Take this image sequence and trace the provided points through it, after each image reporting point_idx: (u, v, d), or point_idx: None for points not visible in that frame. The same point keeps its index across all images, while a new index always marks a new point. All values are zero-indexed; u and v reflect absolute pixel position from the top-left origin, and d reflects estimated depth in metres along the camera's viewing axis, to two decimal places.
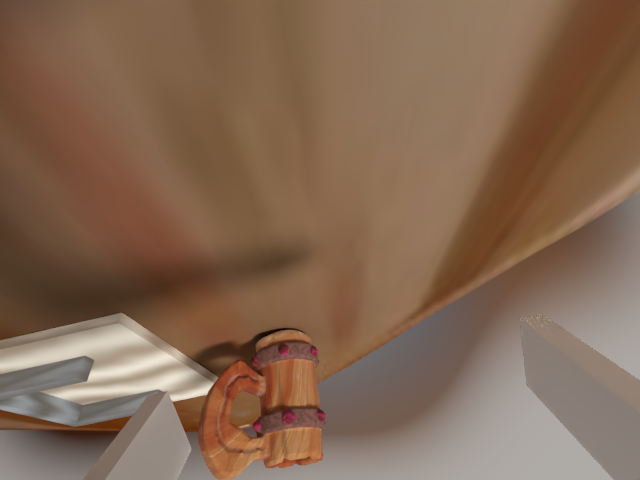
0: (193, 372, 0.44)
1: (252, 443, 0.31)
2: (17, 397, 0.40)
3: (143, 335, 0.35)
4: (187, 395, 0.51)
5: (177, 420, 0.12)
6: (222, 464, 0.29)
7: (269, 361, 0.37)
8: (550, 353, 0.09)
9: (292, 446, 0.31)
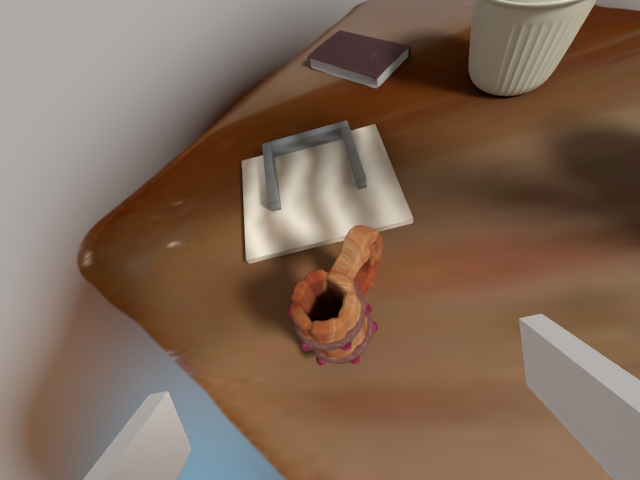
0: (308, 242, 0.47)
1: (358, 267, 0.31)
2: (326, 137, 0.56)
3: (386, 226, 0.46)
4: (253, 226, 0.51)
5: (177, 420, 0.12)
6: (372, 237, 0.31)
7: None
8: (550, 353, 0.09)
9: (356, 303, 0.29)
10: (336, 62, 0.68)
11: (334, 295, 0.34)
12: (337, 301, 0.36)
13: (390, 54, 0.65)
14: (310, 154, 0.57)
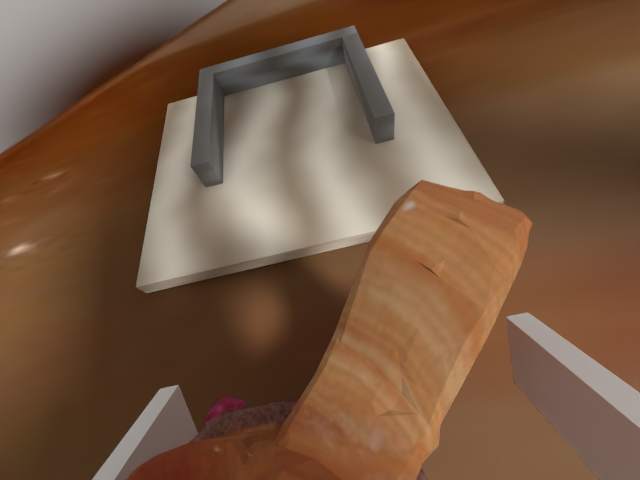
0: (269, 251, 0.22)
1: None
2: (315, 57, 0.31)
3: None
4: (164, 216, 0.25)
5: (187, 413, 0.12)
6: None
7: (423, 476, 0.12)
8: (534, 350, 0.10)
9: None
10: None
11: None
12: None
13: None
14: (286, 89, 0.31)
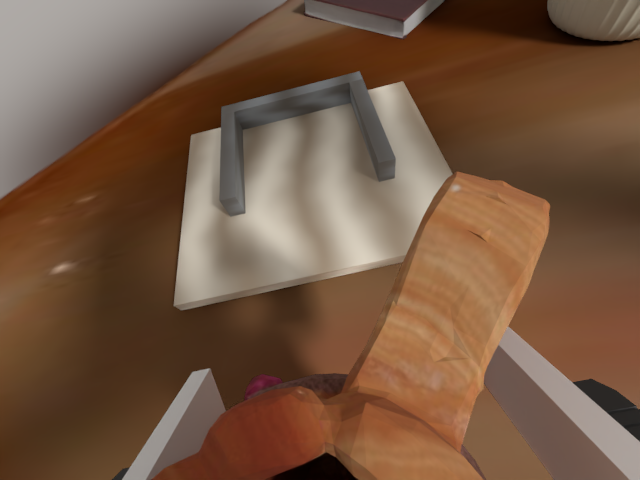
0: (289, 276, 0.26)
1: None
2: (325, 98, 0.35)
3: None
4: (194, 242, 0.29)
5: (218, 395, 0.13)
6: None
7: None
8: None
9: None
10: (342, 2, 0.46)
11: None
12: None
13: None
14: (299, 125, 0.35)
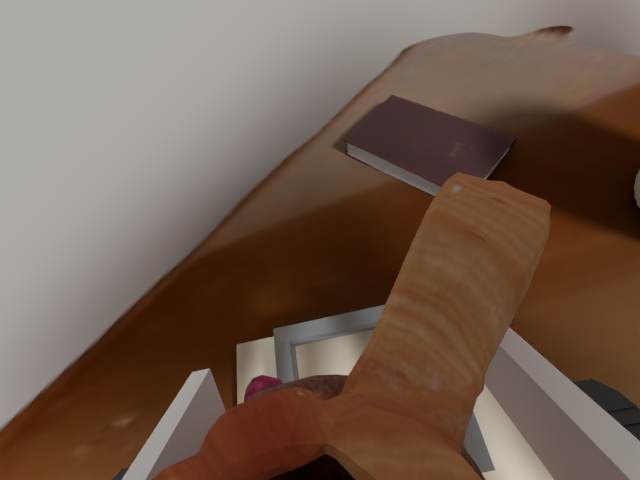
0: None
1: None
2: None
3: None
4: None
5: (218, 396, 0.13)
6: None
7: None
8: None
9: None
10: (392, 157, 0.42)
11: None
12: None
13: (485, 151, 0.40)
14: (360, 350, 0.31)
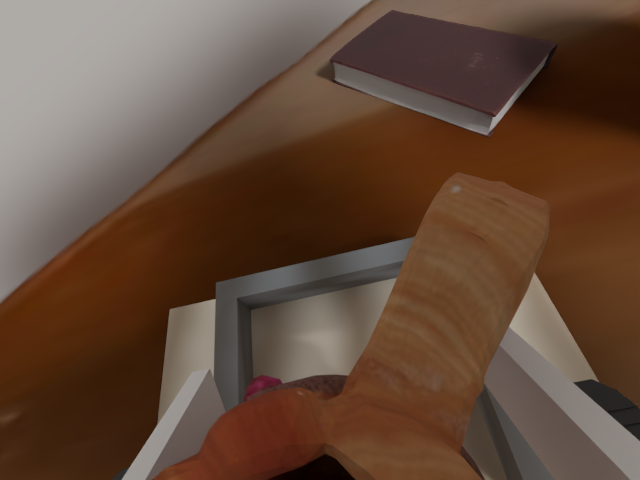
0: None
1: None
2: (388, 271, 0.21)
3: None
4: None
5: (218, 396, 0.13)
6: None
7: None
8: None
9: None
10: (391, 74, 0.32)
11: None
12: None
13: (516, 60, 0.30)
14: (343, 314, 0.21)
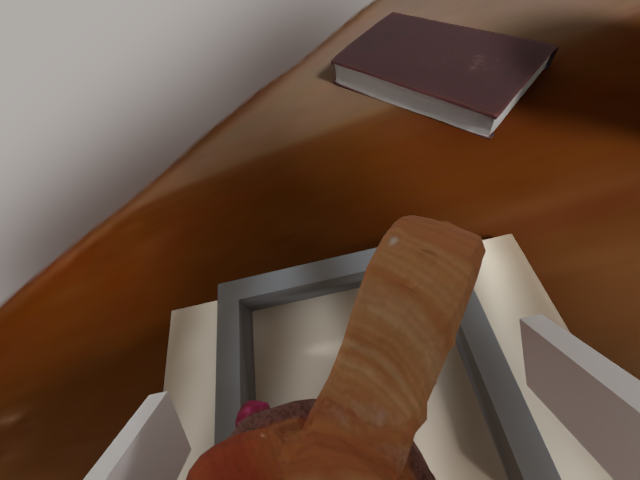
0: None
1: None
2: None
3: None
4: None
5: (177, 420, 0.12)
6: None
7: (422, 458, 0.13)
8: (550, 353, 0.09)
9: None
10: (392, 76, 0.32)
11: None
12: None
13: (517, 62, 0.30)
14: (345, 315, 0.21)
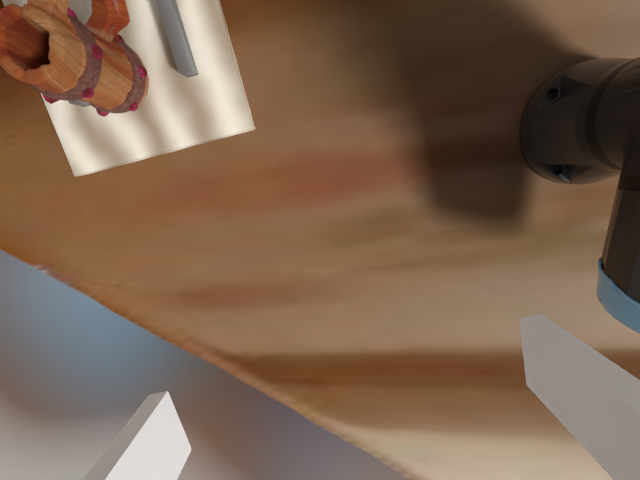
0: (140, 155, 0.42)
1: None
2: None
3: (225, 136, 0.42)
4: (66, 129, 0.42)
5: (177, 420, 0.12)
6: None
7: (129, 53, 0.36)
8: (550, 353, 0.09)
9: (69, 44, 0.28)
10: None
11: None
12: None
13: None
14: None
